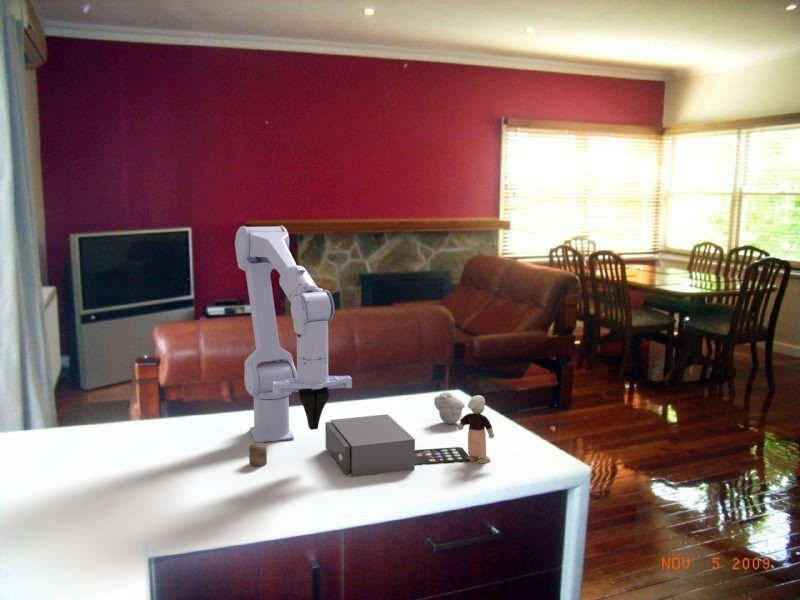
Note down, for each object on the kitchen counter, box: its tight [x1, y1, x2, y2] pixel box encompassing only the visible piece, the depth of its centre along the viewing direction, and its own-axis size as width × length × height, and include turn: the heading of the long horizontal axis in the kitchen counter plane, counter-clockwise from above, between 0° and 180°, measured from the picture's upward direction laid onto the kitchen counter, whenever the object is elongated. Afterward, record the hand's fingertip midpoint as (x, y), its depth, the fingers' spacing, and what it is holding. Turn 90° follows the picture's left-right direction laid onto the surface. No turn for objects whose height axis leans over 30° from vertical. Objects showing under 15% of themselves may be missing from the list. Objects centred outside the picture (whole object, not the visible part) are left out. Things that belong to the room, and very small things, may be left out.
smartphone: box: [415, 446, 471, 466], centre depth 134 cm, size 7×1×15 cm
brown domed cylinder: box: [248, 442, 268, 468], centre depth 130 cm, size 3×3×4 cm
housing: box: [330, 413, 416, 478], centre depth 133 cm, size 16×12×6 cm
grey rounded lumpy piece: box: [433, 391, 466, 425], centre depth 154 cm, size 6×7×7 cm
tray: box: [324, 421, 351, 477], centre depth 132 cm, size 15×12×5 cm
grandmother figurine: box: [457, 394, 495, 464], centre depth 132 cm, size 8×4×13 cm, turn 65°
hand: (313, 427), depth 129 cm, fingers closed
